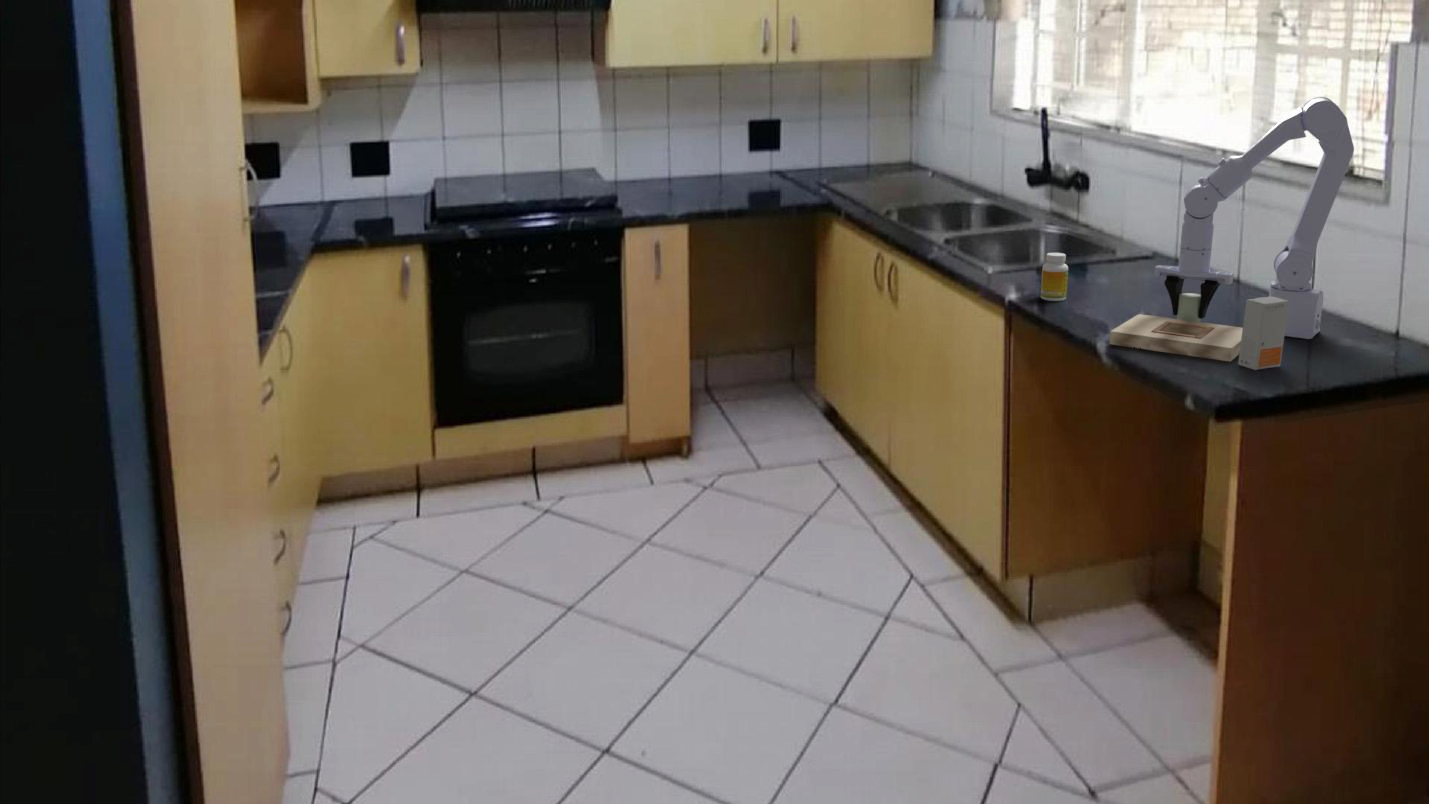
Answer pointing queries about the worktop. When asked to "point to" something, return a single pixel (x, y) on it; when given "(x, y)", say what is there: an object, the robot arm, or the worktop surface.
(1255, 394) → the worktop surface
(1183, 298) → the green peg
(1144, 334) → the hole plate
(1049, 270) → the supplement bottle
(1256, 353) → the skincare box
